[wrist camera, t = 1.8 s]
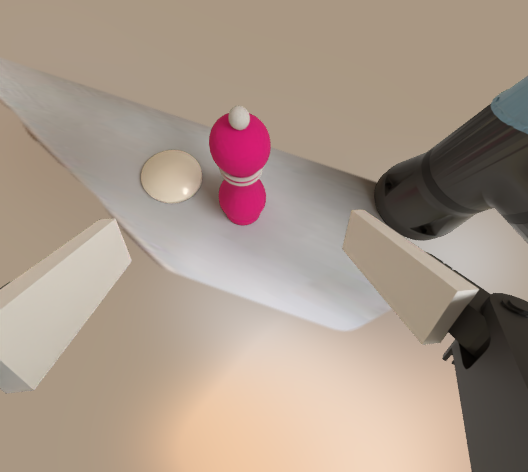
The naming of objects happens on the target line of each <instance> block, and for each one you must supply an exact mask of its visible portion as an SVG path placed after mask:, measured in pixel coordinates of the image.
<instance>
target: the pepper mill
mask: <svg viewBox="0 0 528 472" xmlns="http://www.w3.org/2000/svg"><path fill="white" fill-rule="evenodd" d="M209 146H210V152H211V155H212V157H213V160H214V161H215V163H216V164H217V165H218V167H219V169H220V173H221V175H222V177H223V178H224V181H223V182H222V184H221V186H220V190H219V203H220V206H221V208H222V210H223V211H224V212H225V213H226V215H227V217H228V218H229V219H230V221H232V222H233V223H235V224H238V225H249V224H251V223H253V222H255V221H256V220H257V219H258V217H259V215H260V213H261V211H262V210H263V208H264V206H265V203H266V193H265V189H264V186H263V184H262V182H261V181H260V180H259V178H260V176H261V174H262V171H263V166H264V165H265V163H266V162H267V160H268V157H269V154H270V137H269V134H268V131H267V129H266V127H265V126H264V124H263V123H262V122H261V121H260V120H259V119H258V118H257V117H256V116H254V115H252V114H250V113H248V111H247V110H246V109H245V108H244V107H242V106H235V107H233V108H232V109H231V110H230V112H229V113H228V114H225V115H224V116H222V117H221V118H219V119H218V120H217V122H216V123H215V124H214V126H213V127H212V130H211V133H210V138H209Z"/></svg>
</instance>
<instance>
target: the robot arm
mask: <svg viewBox="0 0 528 472" xmlns="http://www.w3.org/2000/svg"><path fill="white" fill-rule="evenodd" d="M375 202H376V206H377V209H378V211H379V213H380V215H381V217H382V218H383V220H384V221H385V222H386V223H387V224H388V225H389V226H390V227H391V228H392V229H391V228H390V227H388V226H387V225H385V224H384V223H383V222H381V221H380V220H378V219H377V218H375V217H374V216H372V215H371V214H369V213H368V212H367V211H365V210H352V211H351V215H350V219H349V223H348V227H347V231H346V235H345V239H344V244H343V248H342V249H343V250H344V252H345V253H346V254H347V255H348V256H349V258H350V259H351V260H352V261H353V262H354V264H355V265H356V266H357V267H358V268H359V270H360V271H361V272H362V273H363V274H364V276H365V277H366V278H367V279H368V280H369V282H370V283H371V284H372V285H373V286H374V288H375V289H376V290H377V291H378V292H379V294H380V295H381V296H382V297H383V298H384V300H385V301H386V302H387V303H388V304H389V306H390V307H391V308H392V309H393V310H394V312H395V313H396V314H397V315H398V316H399V318H400V319H401V320H402V321H403V322H404V324H405V325H406V326H407V327H408V328H409V330H410V331H411V332H412V333H413V334H414V336H415V337H416V338H417V339H418V340H419V342H420V343H421V344H422V345H425V344H433V343H440V342H441V341H442V340H443V338H444V337H445V336H446V334H447V333H448V332H449V333H450V334H451V335H452V336H453V337H454V338H455V341H454V342H453V343H452V344H451V346H450V347H449V348H448V349H447V351H446V352H445V353H444V355H443V360H445V361H446V360H447V359H448V358H449V357H450V356H451V355H453V357H454V360H453V361H452V364H454V365H455V370H456V376H457V382H458V389H459V394H460V401H461V407H462V414H463V420H464V426H465V432H466V439H467V444H468V451H469V457H470V463H471V469H472V472H528V302H527V301H525V300H522V299H520V298H517V297H514V296H512V295H507V294H503V293H493V294H489V293H488V292H486V291H485V290H484V289H482V288H481V287H479V286H478V285H476V284H475V283H473V282H472V281H470V280H469V279H467V278H466V277H464V276H463V275H461V274H460V273H458V272H457V271H456V270H452V268H451V267H450V266H448V265H447V264H443V262H442V261H441V260H439V259H438V258H436V257H435V256H433V255H432V254H429V253H427V252H425V251H423V250H422V249H420V248H419V247H417V246H416V245H414V244H413V243H412V242H410V241H409V240H407V239H405V238H404V237H403V236H405V237H407V238H410V239H414V240H430V239H433V238H437V237H441V236H444V235H446V234H448V233H450V232H451V231H453V230H454V229H455V228H457V227H458V226H460V225H461V224H462V223H464V222H465V221H466V220H468V219H469V218H471V217H472V216H473V215H475V214H477V213H479V212H482V211H485V210H488V209H492V208H495V209H496V210H497V211H498V212H499V213H500V214H501V215H502V216H503V217H504V218H505V219H506V220H507V222H508V223H509V224H510V225H511V226H512V227H513V228H514V229H515V230H516V232H517V233H518V234H519V235H520V236H521V237H522V238H523V239H524V240H525V241H526V242H527V243H528V76H527V77H525V78H524V79H522V80H521V81H520V82H518V83H517V84H515V85H514V86H513V87H511V88H510V89H508V90H506V91H503V92H502V93H500V94H499V95H498V96H497V97H495V98H494V99H493V101H492V103H491V104H490V105H488V106H487V107H486V108H484V109H483V110H482V111H481V112H479V113H478V114H477V115H475V116H474V117H473V118H472V119H470V120H469V121H467V122H466V123H465V124H463V125H462V126H461V127H459V128H458V129H457V130H455V131H454V132H453V133H452V134H450V135H449V136H448V137H446V138H445V139H444V140H442V141H441V142H440V143H439V144H437V145H436V146H435V147H433V148H432V149H431V150H429V151H428V152H426V153H424V154H421V155H419V156H416V157H414V158H411V159H409V160H406V161H403V162H401V163H399V164H396V165H395V166H393V167H392V168H391V169H389V170H388V171H387V172H386V173H385V174H383V175H382V177H381V178H380V179H379V181H378V182H377V185H376V188H375ZM398 233H399V234H398ZM401 235H402V236H401ZM131 262H132V260H131V257H130V255H129V252H128V250H127V247H126V245H125V242H124V239H123V237H122V234H121V232H120V229H119V226H118V224H117V221H116V219H99V220H98V221H97V222H95V223H94V224H92V225H91V226H90V227H88V228H87V229H85V230H84V231H82V232H81V233H80V234H78V235H77V236H75V237H74V238H72V239H71V240H70V241H68V242H67V243H65V244H64V245H63V246H61V247H60V248H58V249H57V250H55V251H54V252H53V253H51V254H50V255H48V256H47V257H46V258H44V259H43V260H41V261H40V262H38V263H37V264H36V265H34V266H33V267H32V268H30V269H29V270H27V271H26V272H25V273H23V274H21V275H20V276H19V277H17V278H16V279H14V280H13V281H11V282H9V283H7V284H6V285H4V286H3V287H2V288H0V389H1V390H2V391H3V392H5V393H15V392H23V391H32V390H35V388H36V387H37V386H38V384H39V383H40V382H41V380H42V379H43V377H45V375H46V374H47V373H48V371H49V370H50V368H51V367H52V366H53V365H54V363H55V362H56V361H57V359H58V358H59V357H60V355H61V354H62V353H63V351H64V350H65V349H66V347H67V346H68V345H69V344H70V342H71V341H72V340H73V338H74V337H75V336H76V334H77V333H78V331H79V330H80V329H81V328H82V326H83V325H84V324H85V322H86V321H87V320H88V318H89V317H90V316H91V314H92V313H93V312H94V310H95V309H96V307H97V306H98V305H99V304H100V303H101V301H102V300H103V299H104V297H105V296H106V295H107V293H108V292H109V290H110V289H111V288H112V287H113V285H114V284H115V283H116V281H117V280H118V279H119V277H120V276H121V275H122V273H123V272H124V271H125V270H126V268H127V267H128V266H129V264H130V263H131Z"/></svg>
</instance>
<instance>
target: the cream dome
mask: <svg viewBox="0 0 528 472" xmlns="http://www.w3.org/2000/svg"><path fill="white" fill-rule="evenodd" d="M141 182H142V185H143V187H144V189H145V190H146V192H147V193H148V194H149V195H150V196H151V197H153V198H154V199H155V200H157V201H160V202H163V203H169V204H173V203H180V202H183V201H185V200H187V199H189V198H191V197H192V196H193V195H194V194H195V193H196V192H197V191H198V190H199V188H200V186H201V183H202V171H201V168H200V165H199V163H198V162H197V160H196V159H195V158H194V157H193V156H191V155H190V154H188V153H186V152H183V151H180V150H166V151H162V152H159V153H157V154H155V155H154V156H152V157H151V158H150V159H149V160H148V161H147V162H146V163H145V165H144V167H143V169H142V172H141Z"/></svg>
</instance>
